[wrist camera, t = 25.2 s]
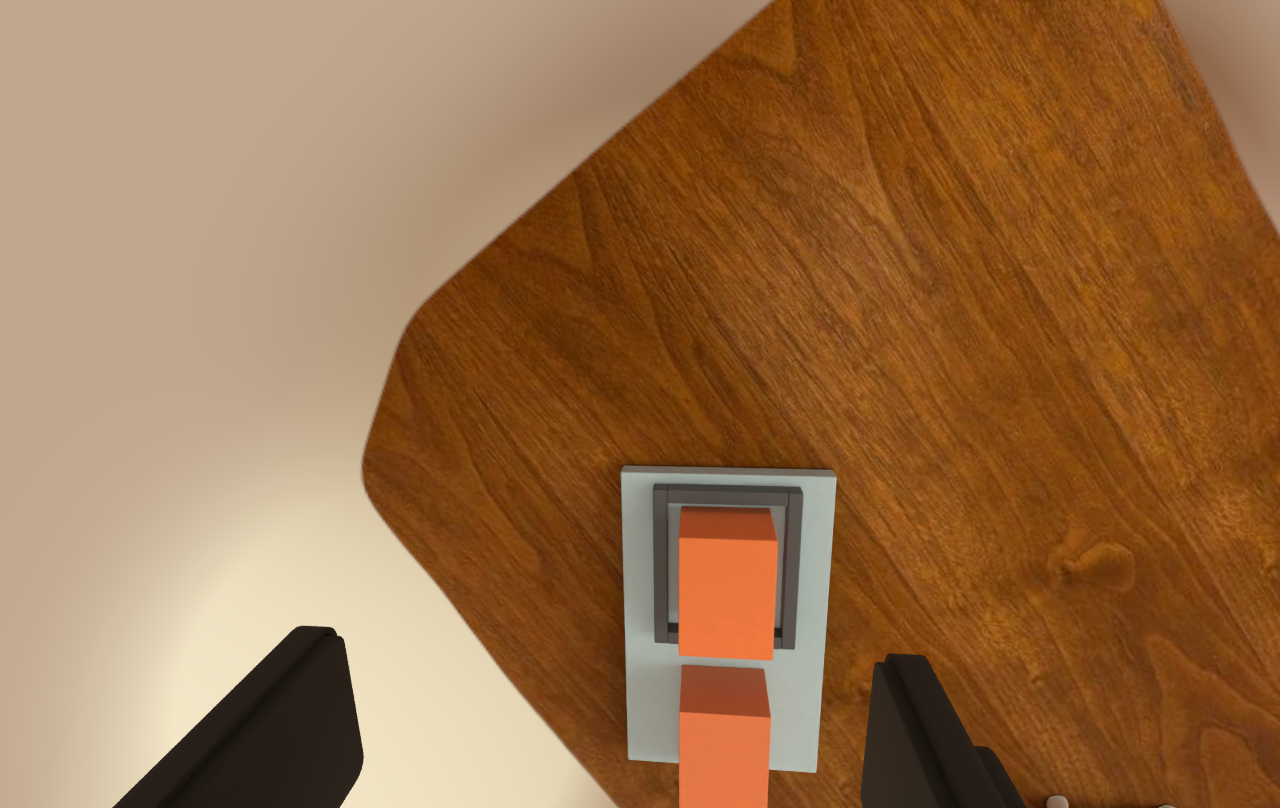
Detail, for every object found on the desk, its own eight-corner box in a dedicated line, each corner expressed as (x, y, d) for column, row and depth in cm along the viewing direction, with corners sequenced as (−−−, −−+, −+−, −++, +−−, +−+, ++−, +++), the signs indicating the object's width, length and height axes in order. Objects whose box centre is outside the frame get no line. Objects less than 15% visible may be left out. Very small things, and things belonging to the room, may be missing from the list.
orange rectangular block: (681, 613, 37) (678, 656, 33) (681, 505, 35) (678, 537, 31) (765, 616, 36) (772, 661, 32) (770, 507, 34) (778, 541, 31)
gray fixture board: (630, 745, 41) (619, 815, 36) (623, 464, 36) (610, 500, 31) (813, 758, 40) (828, 832, 35) (832, 469, 35) (854, 507, 30)
